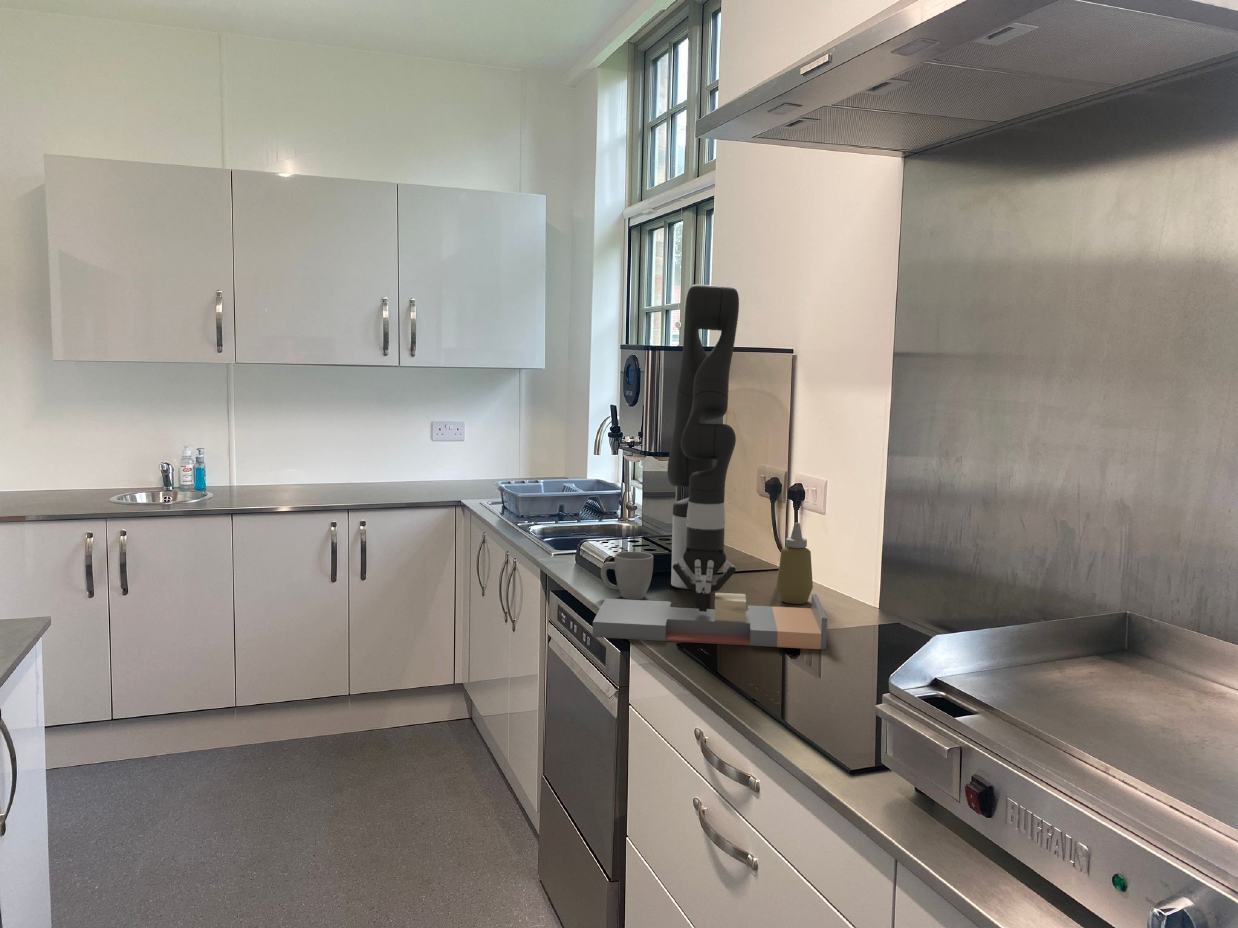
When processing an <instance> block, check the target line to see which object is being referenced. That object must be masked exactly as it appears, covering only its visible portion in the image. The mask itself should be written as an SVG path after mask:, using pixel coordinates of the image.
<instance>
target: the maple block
mask: <svg viewBox="0 0 1238 928" xmlns="http://www.w3.org/2000/svg"><path fill="white" fill-rule="evenodd" d="M714 609H715V618H714V620H719V621H740V622H745V621H746V611H747V596H746V593H732V592H731V593H729V592H728V593H727V592H715V595H714Z"/></svg>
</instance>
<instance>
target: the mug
mask: <svg viewBox="0 0 1238 928" xmlns="http://www.w3.org/2000/svg"><path fill="white" fill-rule="evenodd" d="M608 570H613V571H614V573H615V579H616V584H613V583H611V582H610V581H609V578H608V575H607V571H608ZM653 570H654V555H653V554H651V553H648V552H646V551H645V552H644V551H621V552H618V553H616V554H615V555H614V561H606V562H604V563H603V564H602V566H601V567H600V577H601V579H602V581H603V583H604V584H605V586H606V587H607V588H610V589H613V590H619V592H620V595H621V598H622V599H625V598H626V599H627V600H644V599H645V596H646V594H647V591H648V590H649V587H650V585H651V581H652V576H653Z"/></svg>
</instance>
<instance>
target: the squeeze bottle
mask: <svg viewBox="0 0 1238 928" xmlns="http://www.w3.org/2000/svg"><path fill="white" fill-rule="evenodd" d="M791 531H792V532H791V534H790V537H787V538H785V546H784V547H782V548H781V551H780V557H779V558H780V559H779V564H778V572H777V580H776V586H777V590H778V593H779V597H780V600H781V602H783V603H787V604H790V605H801V604H806V603H807V602H808V600H809V597H810V595H811V593H812V590H813V587H814V586H813V581H814V580H813V568H812V567H813V566H812V554H811V553H812V551H811V550H810V549H809V548H807V547H808V540H807V538H804V537H803V534H802V529H801V524H800V522H794V523H793V527H792V530H791Z"/></svg>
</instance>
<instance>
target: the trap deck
mask: <svg viewBox="0 0 1238 928" xmlns="http://www.w3.org/2000/svg"><path fill="white" fill-rule="evenodd" d="M714 618H715V608H713V609H712V608H711V609H710V608H709V609H707V611H706V612H704V611H699V608H697V607H695V608H694V607H693V608H691V607H675V606H674V607H673V606H672V601H667V600H666V601H663V600H646V599H645V600H644V599H636V600H633V599H625V598H605V599H603V602H602V604H601V606H600V607H599V610H598V612H597V614H596V615H595V617H594V619H593V621H592V638H602V639H619V640H621V639H623V640H641V641H656V642H657V641H662V642H674V643H675V642H679V643H680V642H681V643H694V644H695V643H697V644H717V645H732V646H735V645H736V646H750V647H752V646H753V647H755V646H756V647H769V648H771V647H772V648H791V649H806V650H807V649H810V650H812V649H813V650H824V649H825V650H827V637H828V636H827V633H828V632H827V631H828V616H827V615H826V612H825V610H824V608H823V605H822V603H821V601H820V598H819V596H818V594H817V593H816V594H815V593H812V594H811V606H810V607H809V608H808V607H791V606H790V607H788V606H787V607H786V606H767V605H752V604H751V605H749V604H747V610H746V621H745V622H740V621H719V620H714Z"/></svg>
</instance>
